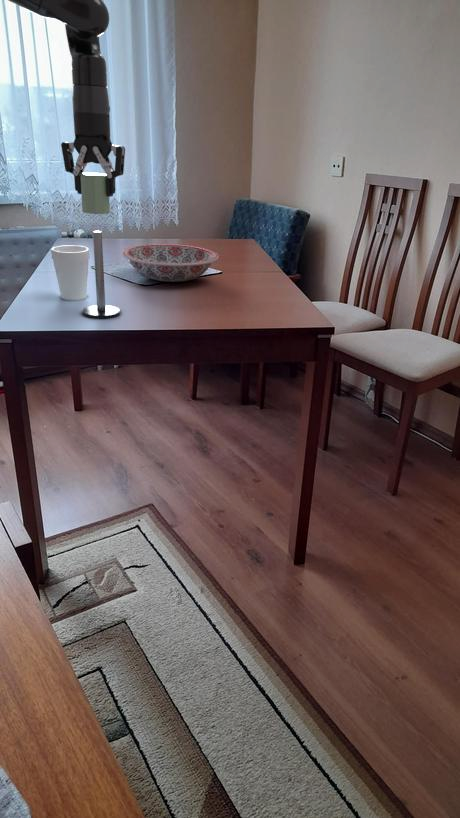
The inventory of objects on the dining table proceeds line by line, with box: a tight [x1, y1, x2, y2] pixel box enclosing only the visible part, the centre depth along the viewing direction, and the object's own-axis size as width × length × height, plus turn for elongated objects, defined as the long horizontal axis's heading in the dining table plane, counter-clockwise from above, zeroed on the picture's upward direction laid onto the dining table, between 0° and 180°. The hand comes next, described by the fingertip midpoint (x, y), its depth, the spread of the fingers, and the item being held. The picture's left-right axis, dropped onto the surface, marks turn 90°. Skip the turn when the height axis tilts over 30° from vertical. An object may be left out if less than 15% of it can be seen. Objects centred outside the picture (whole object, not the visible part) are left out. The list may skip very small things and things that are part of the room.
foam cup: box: [50, 244, 91, 301], centre depth 146 cm, size 10×9×13 cm
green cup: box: [80, 172, 111, 215], centre depth 125 cm, size 6×6×8 cm
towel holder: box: [82, 230, 121, 320], centre depth 133 cm, size 9×9×20 cm
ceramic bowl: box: [121, 243, 219, 283], centre depth 170 cm, size 29×29×8 cm
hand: (95, 194), depth 125 cm, fingers closed on green cup, 6 cm apart
